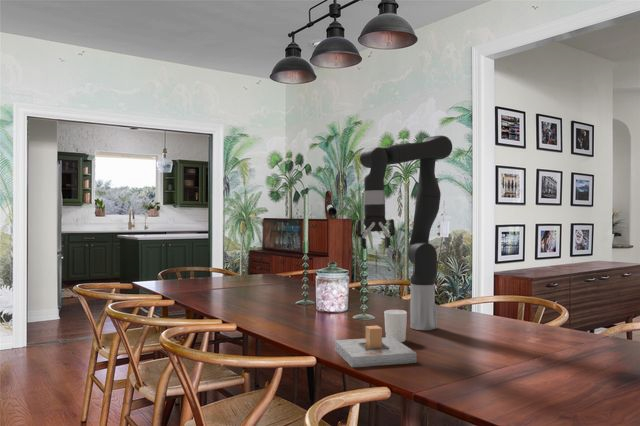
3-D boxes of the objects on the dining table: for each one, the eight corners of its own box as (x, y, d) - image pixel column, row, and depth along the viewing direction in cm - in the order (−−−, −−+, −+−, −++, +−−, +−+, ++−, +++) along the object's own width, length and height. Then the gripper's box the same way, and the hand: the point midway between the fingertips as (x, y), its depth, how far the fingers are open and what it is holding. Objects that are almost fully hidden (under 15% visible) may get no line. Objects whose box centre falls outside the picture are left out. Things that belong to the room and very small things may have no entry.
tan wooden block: (377, 353, 162) (377, 325, 162) (381, 357, 158) (381, 328, 158) (365, 354, 161) (365, 326, 161) (369, 358, 157) (369, 328, 157)
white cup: (389, 343, 174) (389, 314, 174) (380, 338, 182) (380, 310, 182) (410, 342, 176) (410, 313, 176) (401, 336, 184) (401, 309, 184)
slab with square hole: (392, 345, 171) (392, 335, 171) (416, 362, 152) (416, 351, 152) (334, 349, 167) (334, 339, 167) (352, 367, 147) (352, 356, 147)
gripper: (389, 203, 189) (390, 247, 189) (352, 204, 185) (353, 248, 185) (397, 202, 181) (398, 248, 181) (358, 203, 178) (359, 249, 178)
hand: (375, 248), depth 183 cm, fingers open, 8 cm apart
